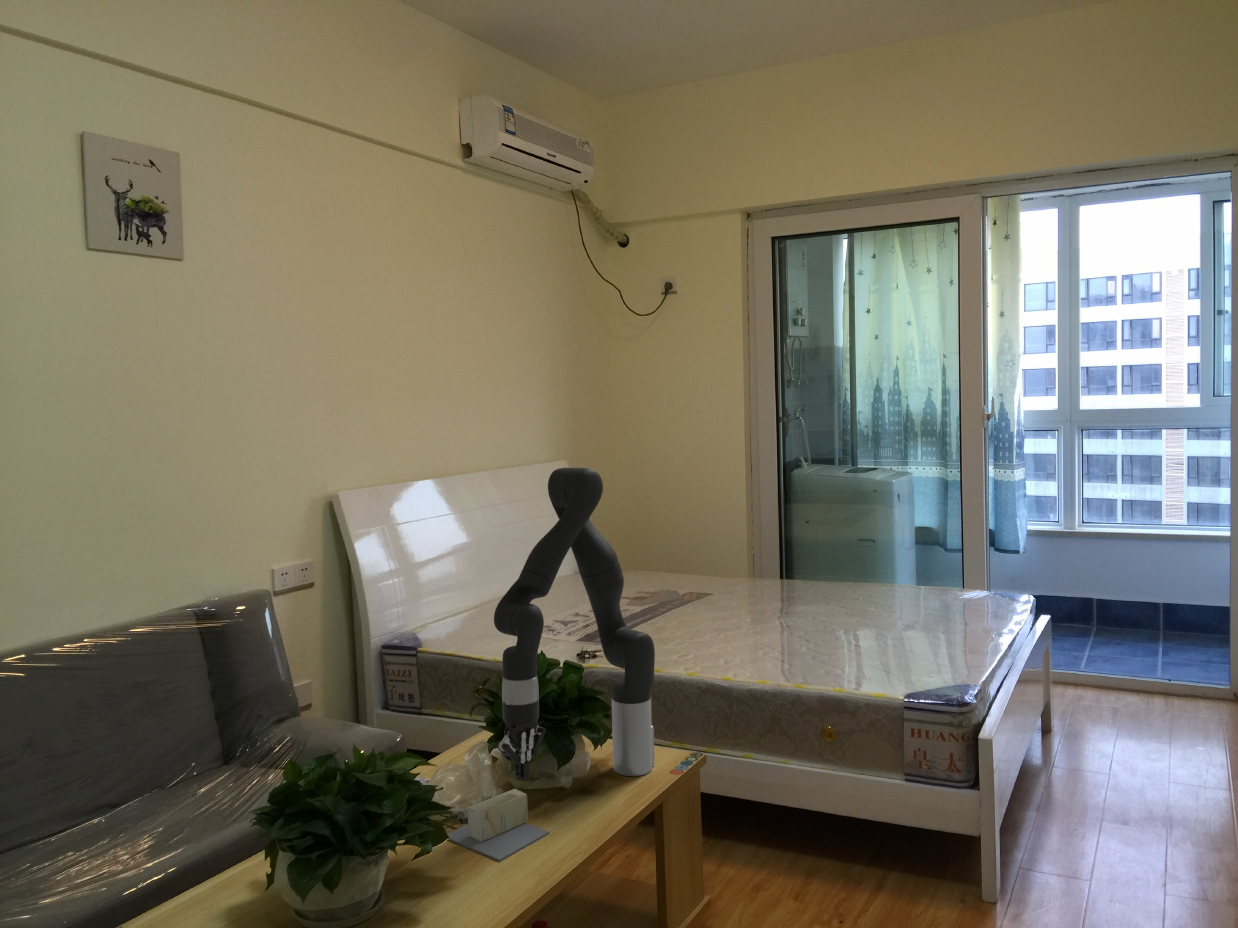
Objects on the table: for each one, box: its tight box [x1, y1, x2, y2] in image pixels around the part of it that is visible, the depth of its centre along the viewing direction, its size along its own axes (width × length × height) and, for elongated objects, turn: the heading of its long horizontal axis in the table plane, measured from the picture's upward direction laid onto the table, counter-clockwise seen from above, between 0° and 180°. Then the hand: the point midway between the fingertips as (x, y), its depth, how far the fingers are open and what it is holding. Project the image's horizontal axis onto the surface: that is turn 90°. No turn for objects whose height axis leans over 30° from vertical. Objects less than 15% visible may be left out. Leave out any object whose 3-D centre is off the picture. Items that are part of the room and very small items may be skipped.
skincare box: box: [467, 788, 529, 842], centre depth 196 cm, size 6×4×12 cm
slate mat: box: [447, 822, 550, 862], centre depth 195 cm, size 14×16×1 cm
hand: (522, 778), depth 200 cm, fingers closed
